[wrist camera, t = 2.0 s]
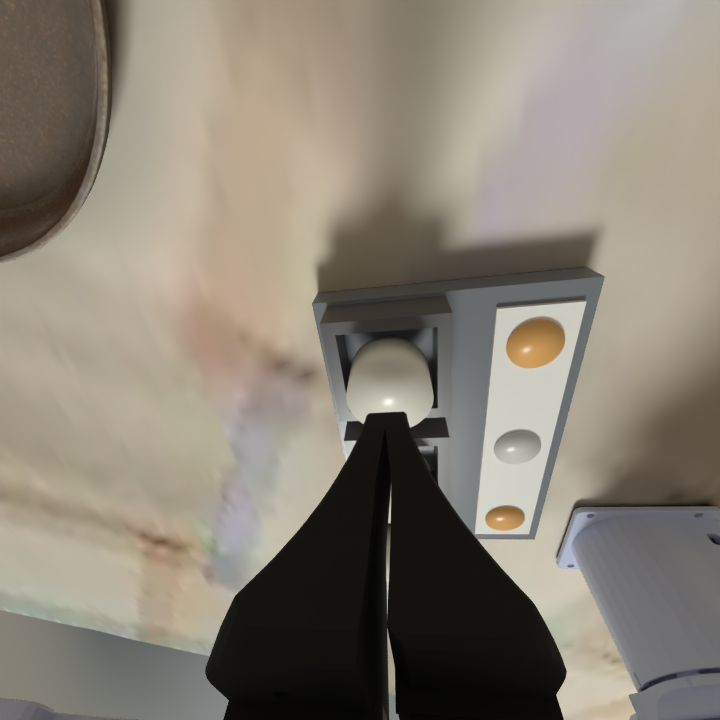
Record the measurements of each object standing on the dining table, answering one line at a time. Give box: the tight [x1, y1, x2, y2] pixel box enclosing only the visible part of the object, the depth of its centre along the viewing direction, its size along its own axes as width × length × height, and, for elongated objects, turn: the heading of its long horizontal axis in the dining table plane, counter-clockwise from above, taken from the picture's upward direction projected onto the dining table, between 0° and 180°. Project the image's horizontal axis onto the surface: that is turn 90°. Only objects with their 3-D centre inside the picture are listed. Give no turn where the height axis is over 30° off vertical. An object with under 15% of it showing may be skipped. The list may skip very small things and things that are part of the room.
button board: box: [312, 267, 604, 539], centre depth 20 cm, size 13×20×4 cm, turn 7°
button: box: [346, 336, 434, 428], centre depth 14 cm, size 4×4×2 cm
